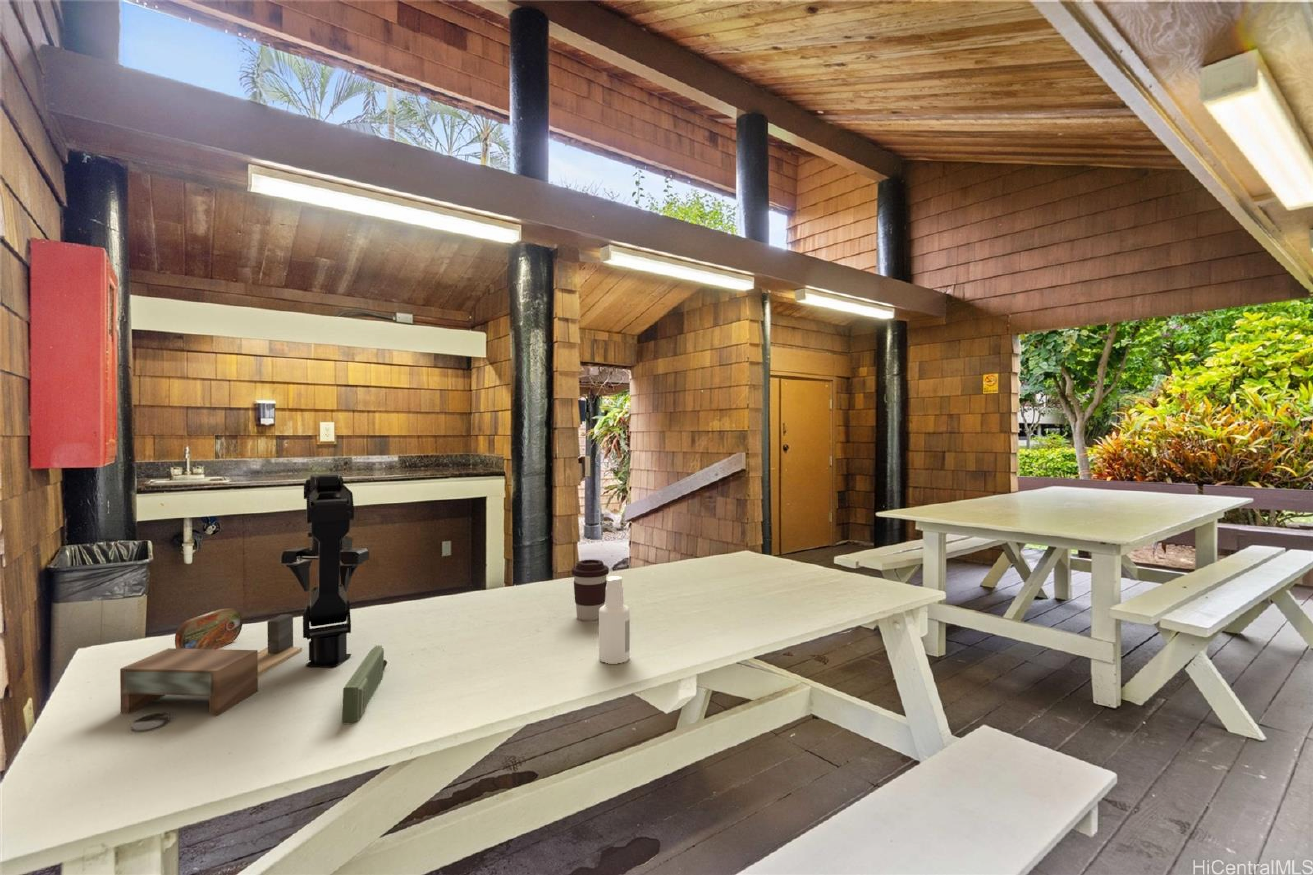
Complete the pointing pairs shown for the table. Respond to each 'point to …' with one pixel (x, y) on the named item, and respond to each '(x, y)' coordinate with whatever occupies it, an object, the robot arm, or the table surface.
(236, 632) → the tin
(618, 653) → the spray bottle
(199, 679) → the wooden bridge block
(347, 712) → the handheld radio
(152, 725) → the token
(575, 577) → the coffee cup
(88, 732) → the table surface
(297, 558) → the robot arm
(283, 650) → the scraper
